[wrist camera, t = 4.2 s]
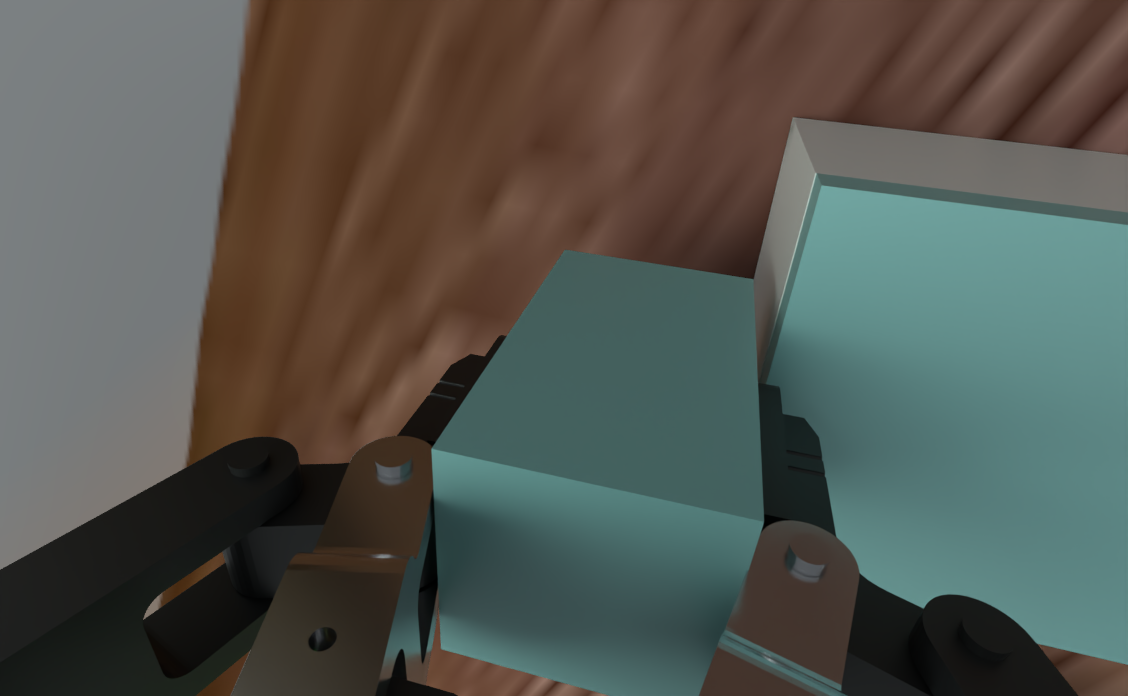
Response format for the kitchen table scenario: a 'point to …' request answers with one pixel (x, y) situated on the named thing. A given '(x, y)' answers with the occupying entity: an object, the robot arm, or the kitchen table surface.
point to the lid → (834, 411)
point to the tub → (917, 184)
